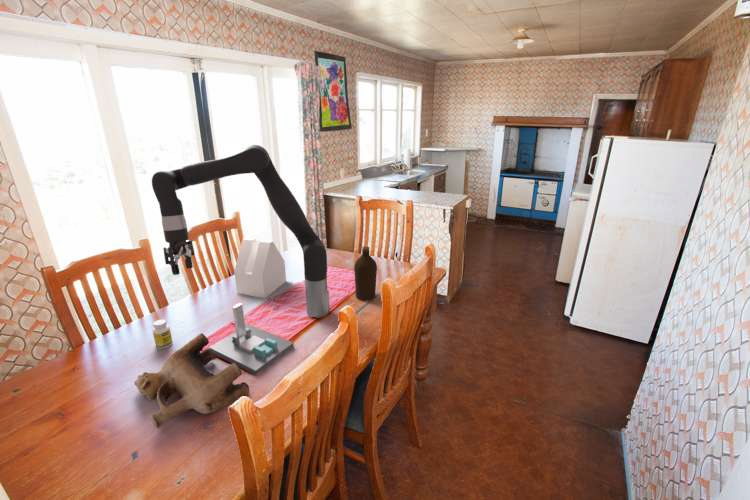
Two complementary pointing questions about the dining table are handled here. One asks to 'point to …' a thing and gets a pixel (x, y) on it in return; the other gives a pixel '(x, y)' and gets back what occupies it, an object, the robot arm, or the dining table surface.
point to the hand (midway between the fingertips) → (183, 271)
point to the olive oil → (365, 276)
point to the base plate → (252, 349)
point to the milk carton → (259, 268)
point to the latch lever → (239, 320)
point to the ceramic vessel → (191, 383)
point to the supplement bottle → (162, 334)
